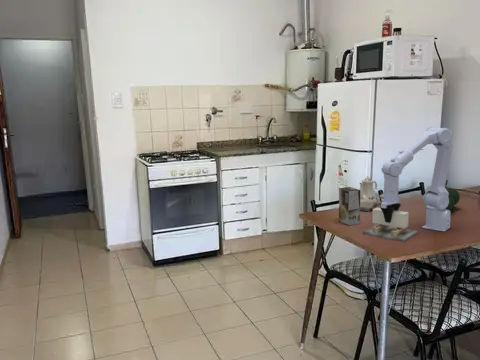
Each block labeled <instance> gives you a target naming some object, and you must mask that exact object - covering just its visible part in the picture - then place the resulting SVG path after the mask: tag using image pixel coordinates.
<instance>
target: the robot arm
mask: <svg viewBox="0 0 480 360" xmlns="http://www.w3.org/2000/svg"><path fill="white" fill-rule="evenodd" d="M452 140H453V133H452V131H451V130H450V129H449V128H448V127H447V128H446V127H433V126H429V127H427V128H425V130H424V131H422V134H421V135H420V137H418V138H417V139H416V140H415V141H414V142H413V144H412V145H410V147H408V148H407V149H406V148H405V149H400V150H398V153H397V154H396V155H395V156H394V157H392V158H391V159H390V160H389V161H386V162H385V163H384V164H383V165H382V167H381V172H382V173H383V184H384V185H383V194H384V199H381V198H380V201H381V204H380V207H379V208H381V210H382V212H383V214H384V219H385V222H387V223H391V219H392V213H393V211H394V210H396V211H399V209H400V207H401V205H402V204H401V203H400V202H401V197H400V196H399V179H400V175H401V174H402V172H403V169H405V167H406V166H407V165H408V164H409V163H411V162H412V161H413V159H414V155H416V154H417V153H419V152H420V151H421V150H422V149H423V148H425V147H426V146H427V145H432V146H434V148H436V150H437V151H436V156H435V157H436V158H435V163H434V169H433V173H432V179H431V184H430V186H428V187H427V188H426V190H425V193H424V194H423V197H422V201H423V203H424V204H425V208H426V210H425V213H426V214H425V224H424V225H423V226H421V227H422V228H423V229H428V230H432V231H440V232H446V231H448V230H449V229H450V228H451V215H452V214H451V213H450V210H446V207H447V206H448V204H449V198H448V195H449V193H448V191H447V190H446V188H445V184H446V179H447V180H448V178H447V177H448V171H449V167H450V161H451V157H452V152H453V143H452ZM382 201H383V202H382Z"/></svg>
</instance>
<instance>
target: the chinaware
mask: <svg viewBox="0 0 480 360" xmlns="http://www.w3.org/2000/svg"><path fill="white" fill-rule="evenodd" d="M374 185H375V186H374ZM377 188H378V184H377V181H374V180H373V179H371V178H370V177H369V175H367V176H366V177H365V178H364V179H363V180H361V182H359V190H361V191H360V211H364V212H369V211H371V209H372V208H374V207H376V204H377V203H378V201H379V199H378V197H377V196H376V191H377V190H378V189H377ZM378 196H379V197H380V200H381V199H384V193H382V194H379V195H378ZM382 202H383V201H381V203H382Z"/></svg>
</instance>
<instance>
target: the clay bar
mask: <svg viewBox="0 0 480 360" xmlns="http://www.w3.org/2000/svg"><path fill="white" fill-rule="evenodd" d="M409 212H410V211H402V210H398V211H396V210H394V211H393V213H392V219H391V223H387V222H385V219H384V214H383V212H382V210H381V208H380V207H376V208H373V209H372V222H371V223H373V224H375V225H376V224H382V225H388V226H393V227H399V228H406V227H407V228H408V227H409Z"/></svg>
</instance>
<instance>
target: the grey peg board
mask: <svg viewBox="0 0 480 360" xmlns="http://www.w3.org/2000/svg"><path fill="white" fill-rule="evenodd" d="M362 234H363V235H367V236H368V235H369V236H373V237H378V238H383V239H389V240H394V241H398V242H403V243H404V242H405V241H407V240H409V239H410V238H412V237H413V236H415V235H417V234H418V230H415V229H410V228H409V229H408V227H406V228H399V227H393V226H388V225H382V224H376V223H375V224H374V225H372V226H370V227H369V228H367V229H365V230H362Z"/></svg>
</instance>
